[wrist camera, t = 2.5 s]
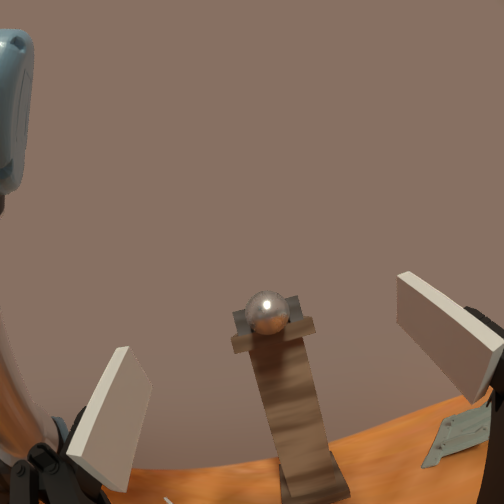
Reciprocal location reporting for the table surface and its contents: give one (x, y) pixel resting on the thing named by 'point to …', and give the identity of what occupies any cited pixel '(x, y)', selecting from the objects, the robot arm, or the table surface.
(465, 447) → the metal bracket
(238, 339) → the walnut stand
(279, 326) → the chrome rounded rod
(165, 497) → the fork
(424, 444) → the table surface
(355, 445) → the table surface
